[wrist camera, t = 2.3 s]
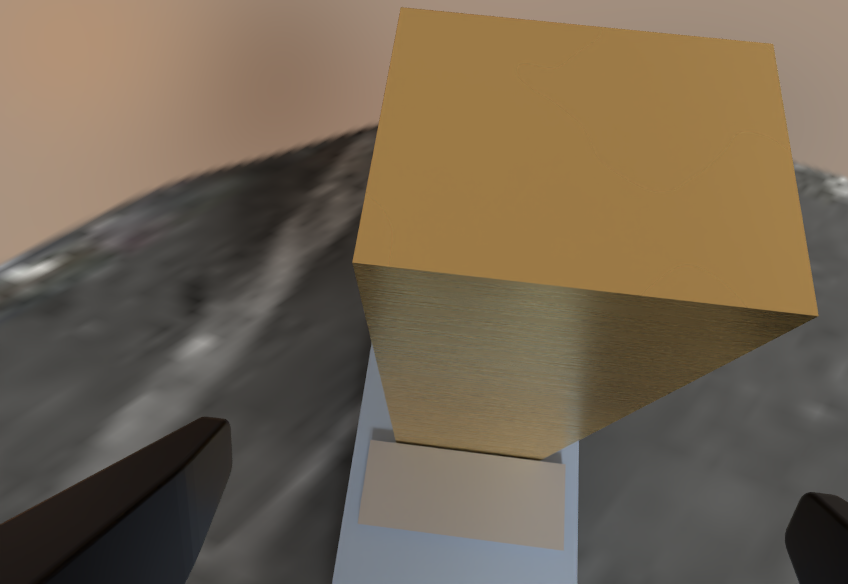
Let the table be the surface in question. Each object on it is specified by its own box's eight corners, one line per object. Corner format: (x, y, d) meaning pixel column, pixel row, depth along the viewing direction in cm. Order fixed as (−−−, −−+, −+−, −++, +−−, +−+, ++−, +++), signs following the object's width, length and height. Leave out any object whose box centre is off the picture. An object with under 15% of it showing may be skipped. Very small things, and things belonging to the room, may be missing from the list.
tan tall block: (539, 461, 17) (818, 316, 5) (396, 442, 17) (351, 262, 5) (543, 353, 19) (773, 43, 7) (410, 337, 19) (400, 7, 7)
